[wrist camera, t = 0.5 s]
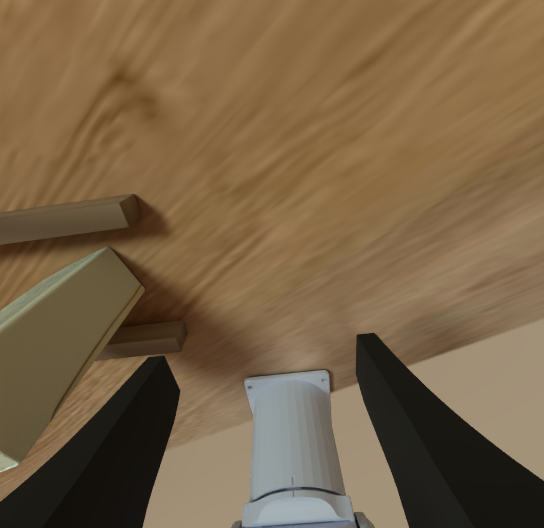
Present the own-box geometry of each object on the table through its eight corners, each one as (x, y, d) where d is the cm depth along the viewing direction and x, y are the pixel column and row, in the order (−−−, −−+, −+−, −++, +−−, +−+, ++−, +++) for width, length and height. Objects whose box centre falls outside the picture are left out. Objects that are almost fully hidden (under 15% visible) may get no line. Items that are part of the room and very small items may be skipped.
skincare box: (87, 317, 22) (-82, 506, 11) (43, 275, 20) (-212, 456, 9) (149, 288, 21) (24, 470, 10) (109, 240, 19) (-101, 405, 8)
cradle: (187, 333, 23) (180, 351, 21) (-67, 362, 24) (-93, 381, 22) (133, 193, 17) (118, 202, 15) (-196, 241, 18) (-245, 254, 17)
